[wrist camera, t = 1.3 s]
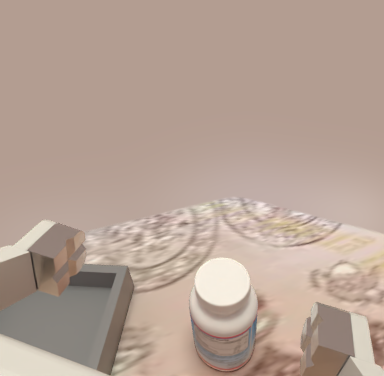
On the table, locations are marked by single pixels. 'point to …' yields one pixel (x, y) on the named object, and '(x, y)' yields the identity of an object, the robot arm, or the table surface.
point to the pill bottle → (223, 314)
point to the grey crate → (76, 317)
